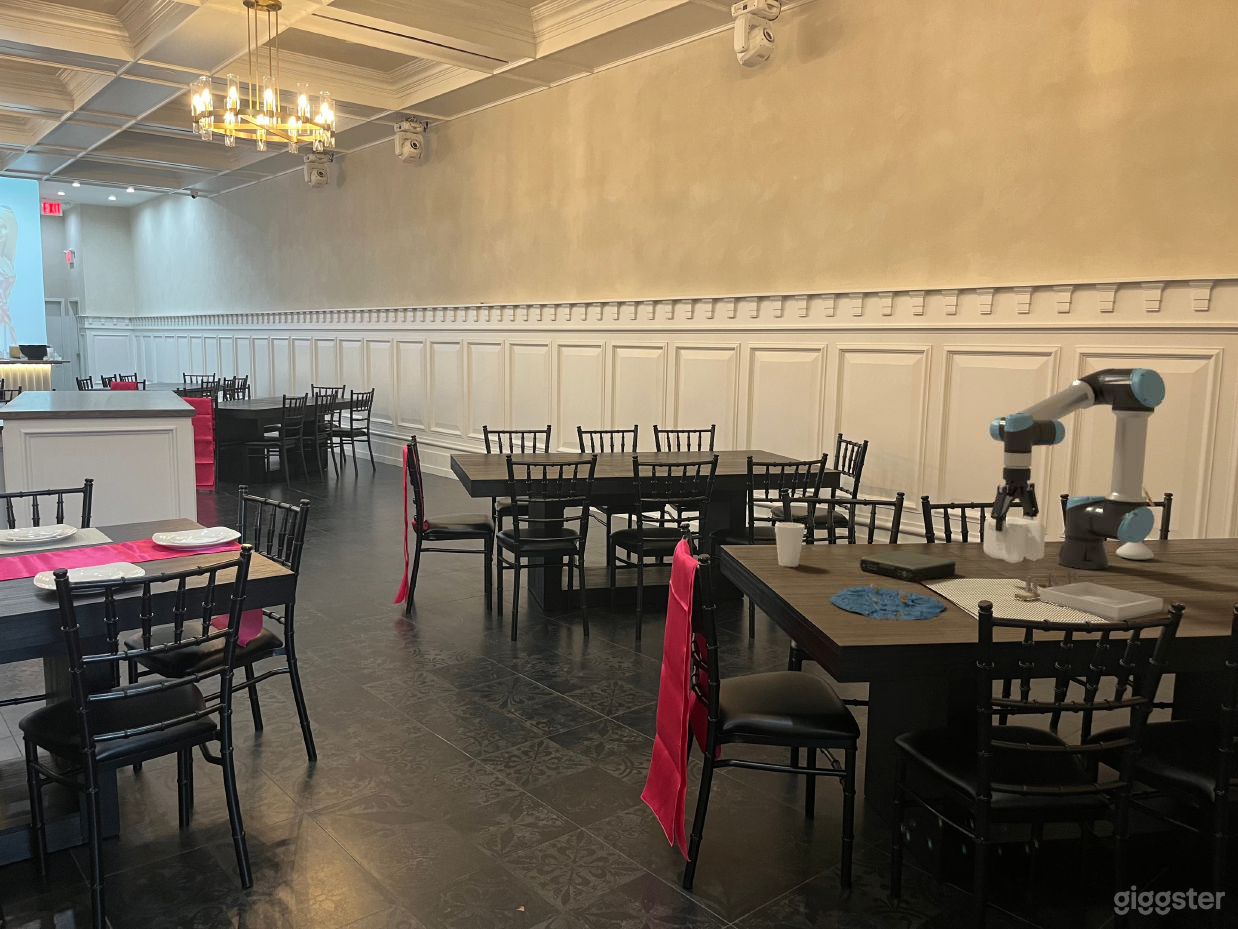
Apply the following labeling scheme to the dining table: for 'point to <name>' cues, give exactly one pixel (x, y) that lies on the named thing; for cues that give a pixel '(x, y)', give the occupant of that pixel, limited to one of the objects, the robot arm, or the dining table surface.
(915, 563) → the network switch
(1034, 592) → the cable clip rail
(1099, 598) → the holder tray
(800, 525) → the foam cup
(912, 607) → the blue wave plaque
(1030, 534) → the cable organizer
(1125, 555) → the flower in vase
